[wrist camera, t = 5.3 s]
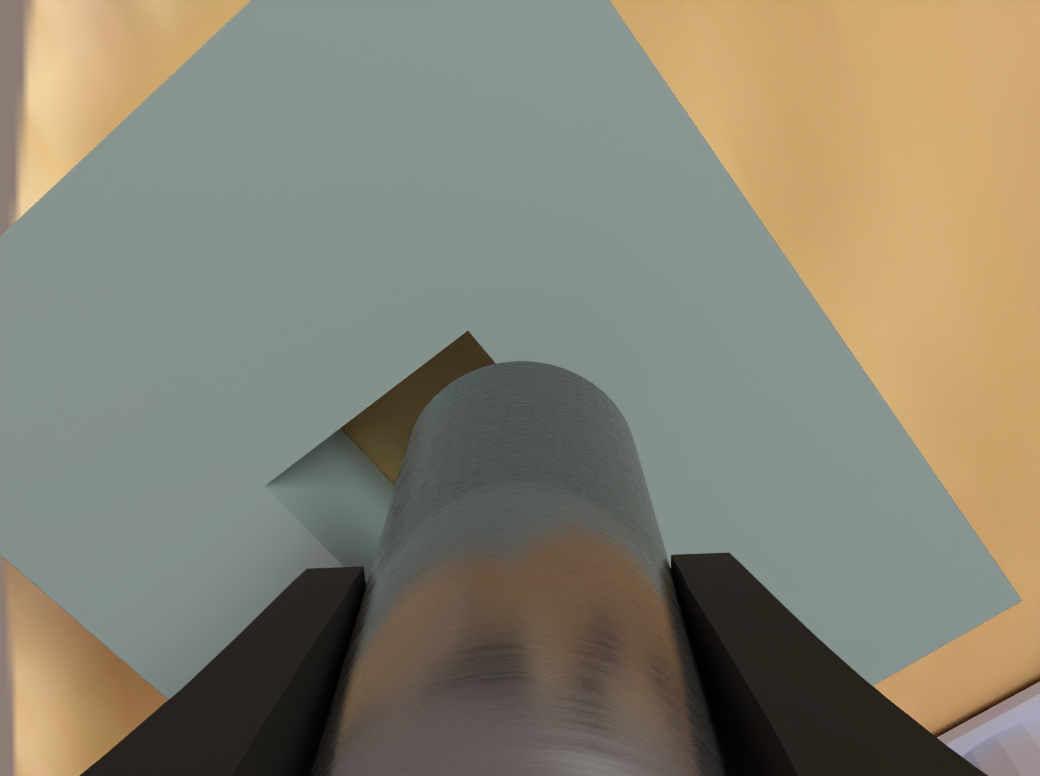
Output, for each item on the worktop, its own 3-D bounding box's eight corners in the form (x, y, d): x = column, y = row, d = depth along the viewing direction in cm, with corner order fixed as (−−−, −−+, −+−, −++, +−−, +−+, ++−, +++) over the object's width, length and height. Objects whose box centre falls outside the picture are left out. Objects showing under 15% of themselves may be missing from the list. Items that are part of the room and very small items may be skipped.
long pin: (670, 522, 12) (980, 1501, 4) (465, 600, 13) (359, 1624, 5) (583, 323, 11) (754, 1081, 3) (364, 416, 12) (-17, 1297, 3)
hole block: (928, 496, 20) (1022, 600, 16) (452, 789, 23) (438, 932, 19) (480, -145, 15) (468, -205, 12) (-36, 330, 19) (-176, 402, 15)
